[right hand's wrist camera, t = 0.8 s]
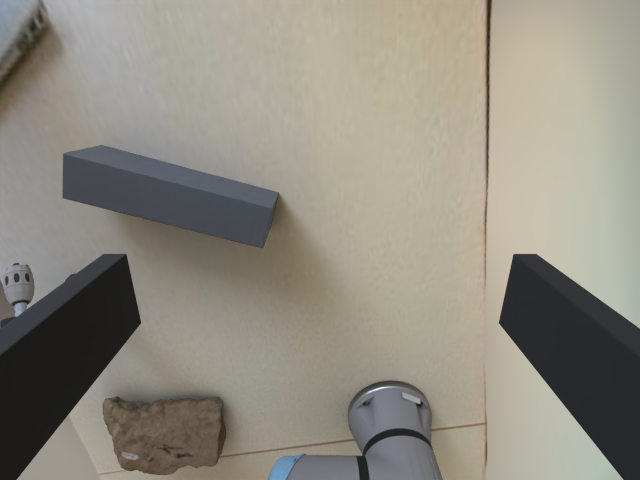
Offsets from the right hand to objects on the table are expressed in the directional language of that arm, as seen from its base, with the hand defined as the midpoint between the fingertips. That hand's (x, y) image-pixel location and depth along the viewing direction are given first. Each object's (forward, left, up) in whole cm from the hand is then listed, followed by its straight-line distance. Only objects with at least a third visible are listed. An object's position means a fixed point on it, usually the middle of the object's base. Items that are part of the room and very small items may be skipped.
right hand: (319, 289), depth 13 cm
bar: (-6, +19, -41) cm, 45 cm away
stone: (-51, +28, -41) cm, 71 cm away
